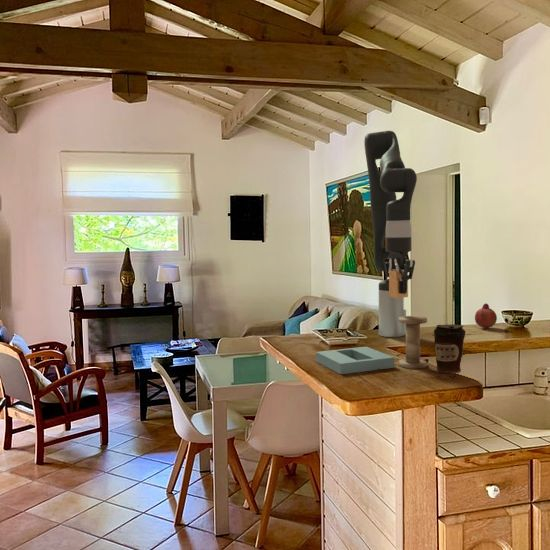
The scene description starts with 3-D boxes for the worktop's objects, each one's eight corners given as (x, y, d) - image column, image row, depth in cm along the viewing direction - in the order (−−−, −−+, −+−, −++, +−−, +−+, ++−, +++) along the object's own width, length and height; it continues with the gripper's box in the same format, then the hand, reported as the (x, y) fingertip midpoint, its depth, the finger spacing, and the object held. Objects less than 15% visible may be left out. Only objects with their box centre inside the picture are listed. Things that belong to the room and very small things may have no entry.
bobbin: (416, 360, 163) (416, 315, 162) (432, 366, 156) (432, 319, 155) (393, 363, 160) (393, 317, 159) (409, 369, 153) (409, 321, 152)
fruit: (470, 327, 215) (470, 302, 214) (488, 326, 217) (488, 301, 216) (482, 331, 207) (483, 305, 207) (501, 329, 209) (501, 304, 209)
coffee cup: (460, 377, 145) (461, 329, 144) (429, 373, 149) (429, 327, 148) (467, 369, 152) (468, 324, 151) (438, 366, 156) (438, 322, 155)
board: (366, 355, 171) (366, 346, 171) (394, 367, 156) (394, 357, 156) (316, 361, 165) (316, 352, 165) (340, 374, 150) (340, 363, 150)
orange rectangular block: (400, 295, 166) (400, 269, 165) (407, 297, 162) (407, 270, 161) (389, 296, 164) (389, 270, 163) (396, 297, 160) (396, 271, 160)
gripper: (423, 235, 156) (423, 294, 158) (395, 235, 169) (396, 289, 171) (401, 236, 153) (401, 296, 155) (375, 236, 167) (375, 291, 168)
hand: (398, 292), depth 163 cm, fingers closed on orange rectangular block, 4 cm apart
